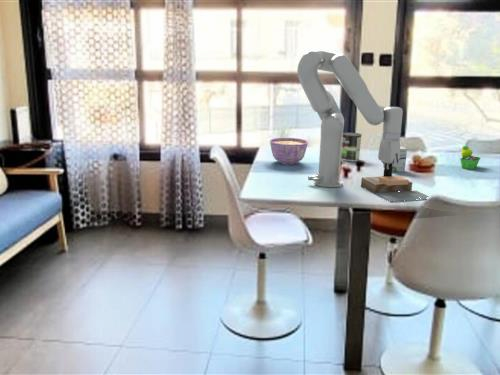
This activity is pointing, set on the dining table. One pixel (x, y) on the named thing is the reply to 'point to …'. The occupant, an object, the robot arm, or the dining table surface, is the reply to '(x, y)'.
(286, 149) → the bowl of food
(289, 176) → the dining table surface
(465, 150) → the fruit basket
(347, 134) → the coffee can
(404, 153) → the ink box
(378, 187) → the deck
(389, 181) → the tile
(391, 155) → the robot arm
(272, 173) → the dining table surface
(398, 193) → the mat
